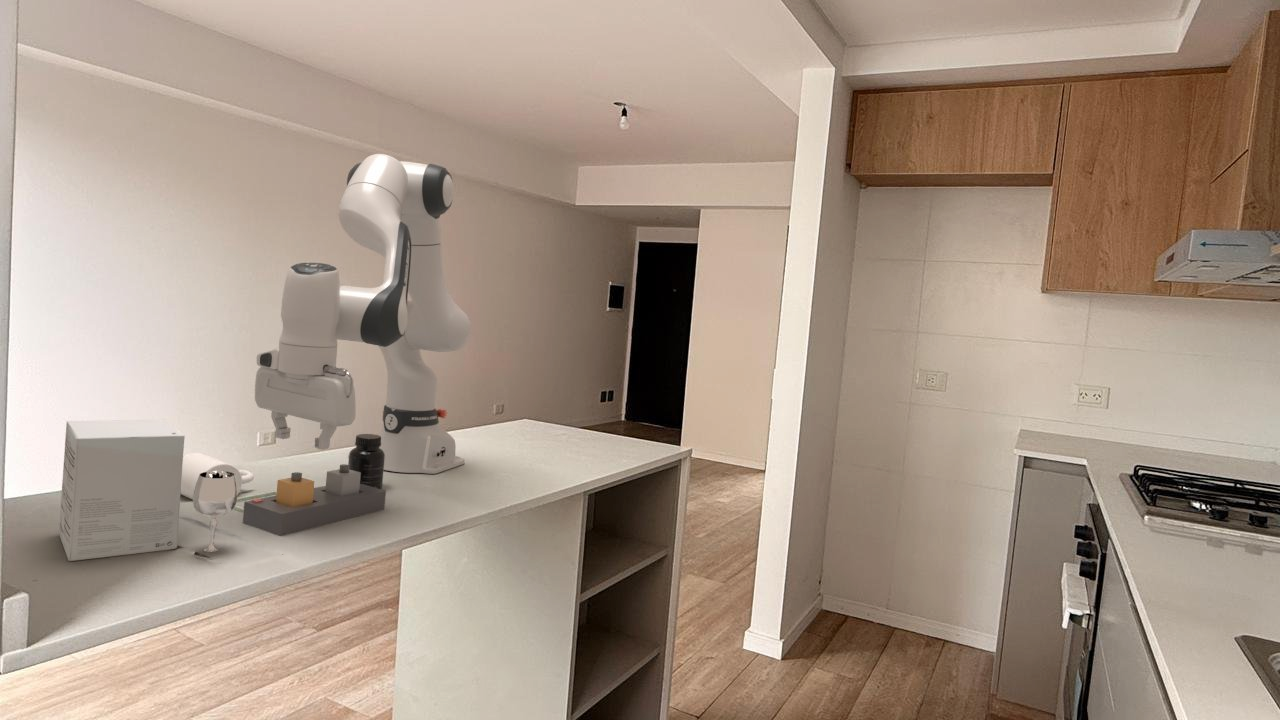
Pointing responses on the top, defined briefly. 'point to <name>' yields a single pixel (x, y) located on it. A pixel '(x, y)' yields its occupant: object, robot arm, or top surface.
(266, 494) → the tray
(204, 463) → the mug
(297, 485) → the plug
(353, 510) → the strip
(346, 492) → the gray knobbed block
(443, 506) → the top surface
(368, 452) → the supplement bottle
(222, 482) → the wineglass
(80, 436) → the supplement box
